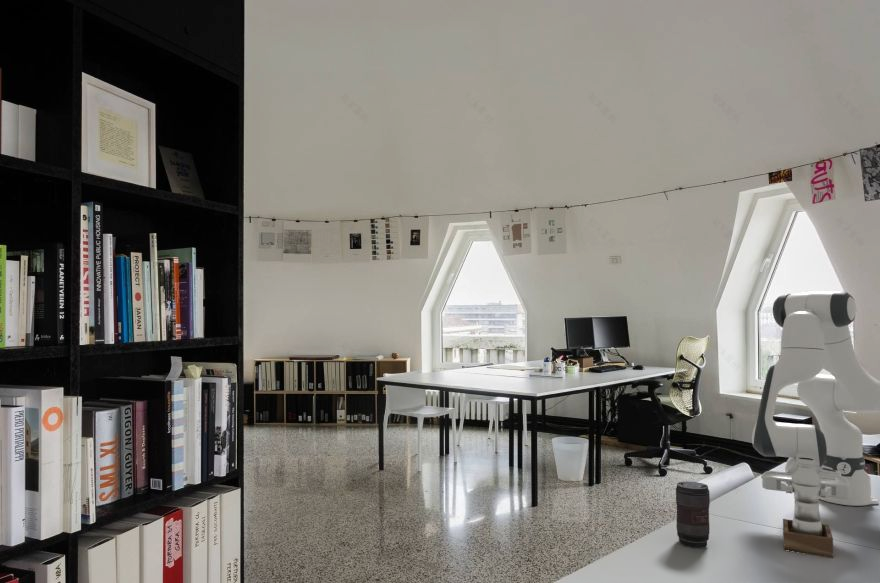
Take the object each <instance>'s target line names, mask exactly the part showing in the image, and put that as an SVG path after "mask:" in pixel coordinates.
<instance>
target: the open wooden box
mask: <svg viewBox="0 0 880 583" xmlns="http://www.w3.org/2000/svg"><path fill="white" fill-rule="evenodd" d="M792 523H793V519H788V518H783V519H782V537H783V538H782V539H783V540H784V541H783V551H784V550H789V551H788V552H790V551H794V552H793V553H797V552H799V553H798V554H803V553H804V554H805V555H811V556H817V557H823V558H831V559H834V538H833V534H832V532H831V531H832V530H831V528H830V524H823V523H821V525H822V536H815V535H808V534H801V533H794V532H793V528H792Z"/></svg>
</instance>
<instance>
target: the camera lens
mask: <svg viewBox="0 0 880 583" xmlns="http://www.w3.org/2000/svg"><path fill="white" fill-rule="evenodd" d="M710 493H711V492H710V489H709V485H708V484H705V483H702V482H697V481H679V482H677V483H676V488H675V504H676V533H677V534H676V535H677V537H678V542H679V543H680V544H681V545H682V546H684V547H687V548H692V549H701V548H702V547H703V548H705V546H706V547H707V545H708V541H709V539H710V502H711V501H710V496H711V495H710ZM703 548H702V549H703Z"/></svg>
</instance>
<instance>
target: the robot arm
mask: <svg viewBox="0 0 880 583" xmlns="http://www.w3.org/2000/svg"><path fill="white" fill-rule="evenodd" d="M856 314H857V305H856V302H855V299H854V297H853V296H852V295H851V294H850V293H848V292H847V291H840V290H834V291H829V290H828V291H826V290H825V291H822V290H814V291H807V292H806V291H805V292H799V293H798V292H797V293H792V294H791V293H786V294H783V295H779V296H778V297H777V298H776V299H775V300H774V302H773V305H772V316H773V319H774V321H775V323H776V324H777V325H778V326H779V327H780V328H782V331H781V338H780V339H781V340H780V353H779V358H778V360H777V362H775V364H774V365H772V366H770V367H769V368H768V370H767V373H766V377H765V380H764V384H763V388H762V394H761V399H760V403H759V408H758V415H757V419H756V422H755V424H754V427H753V429H752V434H751V442H752V447H753V448H754V450H755V451H756V452H757V453H759V454H760V455H762V456H763V457H774V458H775V457H777V458H778V457H782V458H783V457H784V458H788V459H787V460H786V462H785V468H784V472H783V471H777V470H776V471H775V470H767V471H764V472H763V474H761V475H760V477H761V479H762V480H761V481H762V482H761V483H762V488H763V489H765V490H770V491H775V492H776V491H778V492H784V493H786V494H794V491H793V485H792V475H793V473H794V472H795V471H796V470H797V469H798V467H799V466H798V465H797V463H798V458H799V457H806V458H812V459H814V460H815V467H814V470H815V471H816V473H817V474H818V476H819V477H820V480H821V485H820V486H821V487H820V495H819V500H821V501H823V502H824V501H825V502H827V503H832V504H837V505H843V506H844V505H845V506H856V507H857V506H859V507H860V506H868V505H879V500H878V499H877V498H876V497H874V496H873V495H872V483H871V482H872V480H871V476H870V475H869V474H868V473H867V471H865V467H866V466H865V465H866V461H865V456H864V453H863V452H864V451H863V450H864V448H863V446H864V444H863V443H864V442H863V433H862V430H860V428H859V427H858V426H857V425H856V424H853V423H852V422H850V421H849V420H848V419H847V417H845V414H844V412H851V413H857V414H874V413H875V414H876V413H880V380H878V379H877V378H875V377H874V376H872V375H871V374H870V373H869V372H867V370H866V369H865V368H864V367H863V366H862V364H861V363H860V362H859V359H858V357H857V355H856V353H855V350H854V345H853V342H852V337H851V330H850V328H849V325H851V323H852V322H853V323H854V321H855V318H856ZM822 370H825V371H827V373H829V374H822V373H821V371H822ZM797 383H798V384H797ZM794 384H797V386H796V392H797V396H798V398H799V400H800V401H801V403H803V404H804V405H805V406H806V407H808V409H809V410H810V411H811V412H812V413H813V415H814V417H815V418H816V420H817V423H818V426H817V425H816V424H806V423H792V422H791V423H790V422H781V421H776V420H774V413H775V408H776V404H777V400H778V399H777V398H778V395H779V392H781V390H783V389H784V388H786V387H788V386H790V385H794Z"/></svg>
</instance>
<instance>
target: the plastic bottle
mask: <svg viewBox="0 0 880 583" xmlns="http://www.w3.org/2000/svg"><path fill="white" fill-rule="evenodd" d="M797 465H798V466H799V467H798V469H797V470H796V471H795V472H794V473H793V475H792V485H793V491H794V493H793V496H794V497H793V498H794V501H793V502H794V510H793V519H792V520H793V523H792V528H793V532H794V533H801V534H808V535H815V536H822V525H821V524H822V521H821V515H820V499H819V495H820V487H821V486H820V485H821V480H820V477H819V476H818V474H817V473H816V471H815V470H814V467H815V460H814V459H812V458H806V457H799V458H798V463H797Z"/></svg>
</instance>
